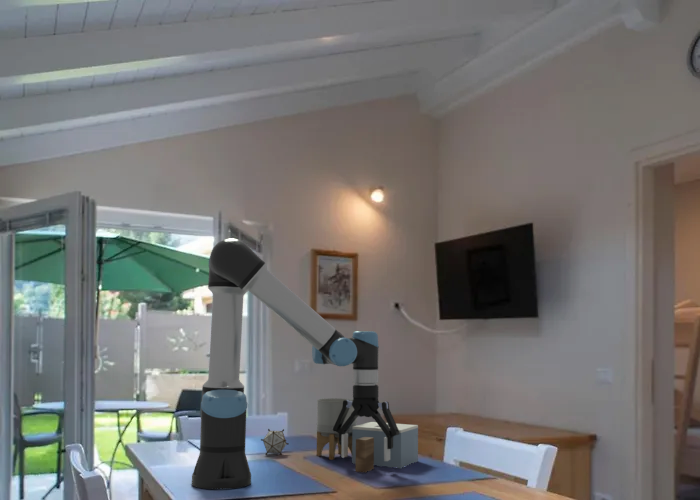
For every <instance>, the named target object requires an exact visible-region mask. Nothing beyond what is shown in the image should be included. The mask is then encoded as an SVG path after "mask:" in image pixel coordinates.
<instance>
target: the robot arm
mask: <svg viewBox="0 0 700 500" xmlns="http://www.w3.org/2000/svg"><path fill="white" fill-rule="evenodd" d="M207 284H208V286H207V287H208V288H207V289H208V290H209V291H210V292H211V293H212V311H211V323H210V325H211V328H210V341H209V343H210V345H209V359H208V360H209V361H208V363H209V364H208V379H207V380H206V381H205V382H204V383H203V384H202V386H201V387H202V390H201V391H202V392H201V402H200V409H199V410H200V411H199V417H200V434H199V435H200V439H199V455H198V457H197V460H196V463H195V466H194V469H193V473H192V475H191V486H193V487H195V488H199V489H206V490H232V489H239V488H244V487H248V486H249V485H251V483H252V473H251V470H250V466H249V462H248V459H247V455H246V438H247V437H246V433H247V408H248V402H247V401H248V400H247V395H246V394H245V385H244V384H243V383H242V381H241V380H240V369H241V368H240V367H241V350H242V349H241V348H242V334H243V333H242V330H243V313H244V310H243V309H244V296H245V295H246V294H247V293H248V292H250V294H252V295H253V296H254V297H255V298H256V299H258V300H259V301H260V302H261V303H262V304H264V305H265V306H266V307H268V309H269V310H270V311H271V312H273V313H274V314H275V315H276V316H278V318H280V319H281V320H282V321H283V322H285V323H286V324H287V325H288V326H289V327H290V328H292V329H293V330H294V331H295V332H296V333H297V334H299V335H300V336H301V337H302V338H303V339H305V340H306V341H307V342H308V343H309V344H310V345H311V346H312V347H311V354H312V355H311V357H312V362H313V363H314V364H317V365H335V366H337V367H346V366H350V365H351V364H352V383H353V386H352V399H353V401H350V400H344V401H343V407H342V410H341V412H340V414H339V416H338V419H337V421H336V423H335V425H334V428H333V431H336V432H338V433H339V445H342V451H341V454H340V456H341V458H343V459H344V458H348V457H349V447H348V434H345V433H346V431H347V430H348V428H349V427H350V426H351V424H352V423H353V422H354V421H355V419H356V418H357V419H358V417H360V418H362V417H366V418H372V419H373V420H374V422H377V424H378V425H379V426H380V428H381V429H382V430H383V432H384V433H385V435H386V436H387V437H385V438H384V461H389V460H390V449H392V448H393V437H394V436H395V435H398V434H399V433H400V432H399V430H398V428H397V425H396V424H397V423H396V421H395V418H394V417H393V414H392V412H391V410H390V404H389V402H388V401H383V402H379V385H377V384H379V335H378V333H377V332H376V331H372V330H371V331H370V330H369V331H366V330H365V331H361V330H360V331H358V330H356V331H353V333H352V336H351V337H346V336H344V334H342V333H341V332H339V331H338V330H337V329H336V327H334V326H333V325H332V324H330V323H329V322H328V321H327V320H326V319H324V318H323V317H322V316H321V315H320V314H319V313H318V312H316V310H314V309H313V308H312V307H311V306H310V305H308V303H306V302H305V301H304V300H303V299H302V298H300V296H299V295H297V294H296V293H295V292H294V291H292V290H291V289H290V288H289V287H288V286H287V285H286V284H285V283H283V282H282V281H281V280H280V279H279V278H278V277H276V275H274V274H273V273H272V272H271V271H270V270H269V269H267V263H266V262H265V261H264V260H263V259H262V258H260V256H259V255H258V254H256V253H255V252H254V251H253V250H252V249H251V247H250V246H249V245H248V244H247V243H245V242H244V241H242V240H240V239H237V238H225V239H222V240H221V241H219V242H218V243H216V244H215V245H214V247H213V248H212V250H211V252H210V255H209V259H208V283H207ZM351 406H353V408H354V411H353V412H352V413H351V416H350V417H349V418H348V419H347V421H346V422H345V423H344V425H343V426H342V424H343V422H344V420H345V417H346V415H347V413H348V411H349V408H350V407H351ZM379 408H380V410H382V414H383V416H384V418H385V420H386V421H385V420H384V418H383V417H382V416H381V415H382V414H381V413H380V412H379V410H378V409H379ZM386 423H388V425H389V427H390V428H389V427H388V425H387V424H386ZM341 426H342V427H341Z"/></svg>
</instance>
